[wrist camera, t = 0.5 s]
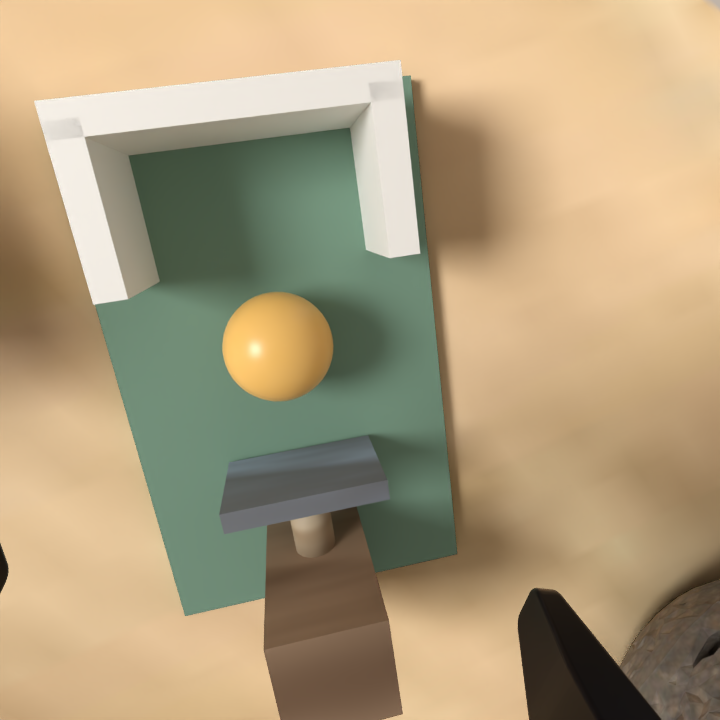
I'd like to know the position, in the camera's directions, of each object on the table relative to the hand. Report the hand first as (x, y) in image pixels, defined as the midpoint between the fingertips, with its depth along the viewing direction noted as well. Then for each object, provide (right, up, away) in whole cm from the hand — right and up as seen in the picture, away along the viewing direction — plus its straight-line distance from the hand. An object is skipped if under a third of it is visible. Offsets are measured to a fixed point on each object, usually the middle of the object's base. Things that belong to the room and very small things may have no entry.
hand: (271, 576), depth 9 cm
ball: (-1, +4, +10) cm, 11 cm away
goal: (-3, +10, +10) cm, 14 cm away
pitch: (-2, +3, +13) cm, 13 cm away
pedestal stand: (-1, -4, +14) cm, 15 cm away
